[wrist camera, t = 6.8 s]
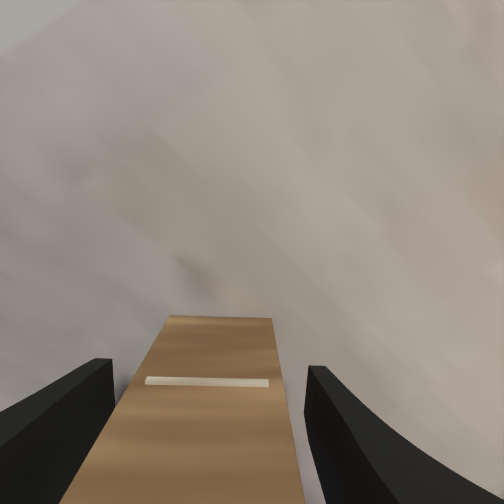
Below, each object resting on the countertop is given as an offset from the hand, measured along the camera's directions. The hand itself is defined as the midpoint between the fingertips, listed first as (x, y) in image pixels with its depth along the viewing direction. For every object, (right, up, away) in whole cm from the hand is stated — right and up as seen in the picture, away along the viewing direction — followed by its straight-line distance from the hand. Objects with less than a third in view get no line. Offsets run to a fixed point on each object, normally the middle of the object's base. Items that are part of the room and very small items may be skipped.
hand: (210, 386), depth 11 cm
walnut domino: (0, +1, +4) cm, 4 cm away
